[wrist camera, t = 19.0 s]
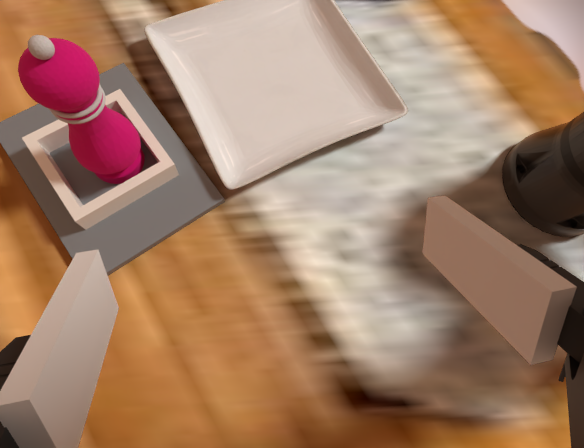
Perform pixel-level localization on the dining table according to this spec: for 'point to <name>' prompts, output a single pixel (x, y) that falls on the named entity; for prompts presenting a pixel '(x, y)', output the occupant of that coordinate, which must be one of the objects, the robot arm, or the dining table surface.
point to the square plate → (272, 81)
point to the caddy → (105, 196)
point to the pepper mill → (81, 107)
